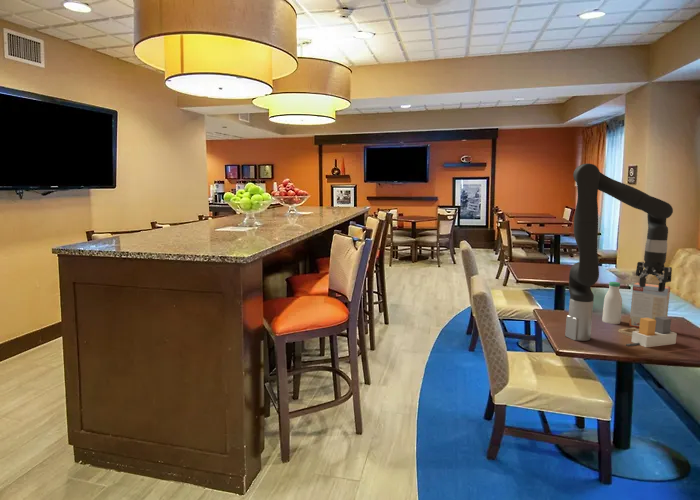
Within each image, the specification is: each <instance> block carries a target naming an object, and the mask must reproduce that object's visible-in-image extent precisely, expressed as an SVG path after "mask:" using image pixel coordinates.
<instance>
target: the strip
mask: <svg viewBox="0 0 700 500" xmlns="http://www.w3.org/2000/svg"><path fill="white" fill-rule="evenodd" d="M655 320H656V327H655V335H652V336H647V335H644V334H641V333H639V331H632V337H631V340H630V341H631V343H626V344H625V346H627V347H634V346H635V347H636V346H642V347H644V348H651V347H653V348H654V347H659V346H670V345H675V344H677V343H676V342H677V332H674V331H672V329H671V324H672V318H670V317H667V318H666V317H663V316H661V317H655Z"/></svg>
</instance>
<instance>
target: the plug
mask: <svg viewBox="0 0 700 500" xmlns="http://www.w3.org/2000/svg"><path fill="white" fill-rule="evenodd" d="M655 327H656V320H654V319H651V318H640V326H639V328H638V329H639V333H641V334H644V335H647V336H652V335H655Z"/></svg>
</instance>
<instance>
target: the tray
mask: <svg viewBox="0 0 700 500" xmlns="http://www.w3.org/2000/svg"><path fill="white" fill-rule="evenodd" d="M632 331H639V328H638V327H629V328H619V329H618V333H621V334H622V335H626V336H629V337H630V338H632Z"/></svg>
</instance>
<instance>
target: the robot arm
mask: <svg viewBox="0 0 700 500" xmlns="http://www.w3.org/2000/svg"><path fill="white" fill-rule="evenodd" d="M572 177H573V180H574V182H575V183H576V190H577V191H576V192H577V200H576V206H575V210H574V215H573V235H574V236H573V237H574V240H575V243H576V245H577V249H578V256H579V261H578V262H575V263H574V264H573V265H571V267H570V270H569V275H568V276H569V277H568V291H569V303H568V305H569V306H568V315H566V320H565V331H564V332H565V334H564V336H565V337H567V338H569V339H571V340H573V341H581V342H582V341H583V342H584V341H590V340H591V335H592V334H591V333H592V321H593V312H594V311H593V310H594V299H595V295H594V293H593V291H592V289H591V286H594V285H595V284H596V283H598V280H599V278H600V267H599V259H598V258H599V256H598V246H599V245H598V236H599V207H598V206H599V205H598V192H599V191H600V192H602V193H605V194H606V195H608V196H611V197H612V198H614V199H616V200H618V201H619V202H621V203H624V204H625V205H627V206H629V207H631V208H634V209H636V210H639V211H642V212H644V213H646V215H647V227H648V228H647V235H646V242H645V247H644V255H643V257H644V258H643V261H638V262H637V264H636V270H635V276H636V277H637V276H638V278H639V282H638V283H639V285H640V287H645V284H647V283H646V282H647V277H648V275H652V276H655V278H656V279H658V281H659V282H658V285H659V287H658V291H659V292H663V291H664V290H665V286H666V284H667V283H671V282H672V275H673V274H672V273H673V272H672V271H673V268H672V267H671V266H665V263H666V262H667V261H666V260H667V253H668V236H669V227H668V225H667V219H669V218H670V217H671V216H672V215H673V213H674V208H673V206H672V204H670V203H669V202H667V201H665V200H662V199H660V198H657V197H654V196H652V195H650V194H647V193H645V192H643V191H642V190H640V189H637V188H636V187H634V186H631V185H628V184H626V183H624V182H621V181H618V180H616V179H613V178H611V177H609V176H607V175H605V174H603V173H602V172H601V171H600V169H599V167H598V166H597V165H595V164H594V163H582V164H580V165H578V166H577V167H576V168H575V169H574V171H573V174H572Z"/></svg>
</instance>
